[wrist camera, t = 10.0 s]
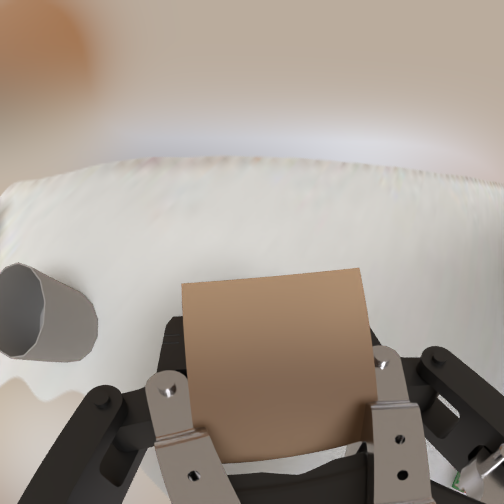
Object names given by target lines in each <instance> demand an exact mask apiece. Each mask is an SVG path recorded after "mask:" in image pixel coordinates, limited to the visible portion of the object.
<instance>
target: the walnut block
mask: <svg viewBox="0 0 504 504" xmlns="http://www.w3.org/2000/svg"><path fill="white" fill-rule="evenodd" d="M181 285H182V308H183V326H184V341H185V355H186V367H187V377H188V388H189V397H190V406H191V414H192V422H193V428H198V427H205V428H206V429H207V431H208V434H209V436H210V438H211V441H212V443H213V445H214V448H215V450H216V452H217V455H218V457H219V459H220V461H221V463H222V464H226V463H241V462H253V461H263V460H271V459H279V458H286V457H292V456H298V455H304V454H309V453H314V452H319V451H324V450H328V449H333V448H337V447H341V446H345V445H349V444H353V443H356V442H360V438H361V432H362V426H363V420H364V413H365V406H366V403H368V402H373V401H378V395H377V384H376V374H375V364H374V356H373V348H372V340H371V333H370V326H369V319H368V313H367V307H366V301H365V295H364V290H363V284H362V279H361V274H360V269H359V268H352V269H343V270H334V271H324V272H314V273H304V274H293V275H283V276H272V277H260V278H249V279H237V280H224V281H212V282H198V283H184V284H181Z"/></svg>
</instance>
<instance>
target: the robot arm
mask: <svg viewBox="0 0 504 504" xmlns="http://www.w3.org/2000/svg"><path fill="white" fill-rule="evenodd" d="M370 333H371V340H372V348H373V356H374V364H375V374H376V384H377V395H378V401H373V402H368V403H366V406H365V413H364V420H363V426H362V432H361V438H360V442H356V443H353V444H349V445H347V447H346V452H345V456H344V457H343V458H339V459H335V460H332V461H330V462H328V463H326V464H324V465H322V466H320V467H317V468H315V469H313V470H311V471H308V472H306V473H304V474H300V475H289V474H274V473H263V472H261V473H251V474H238V475H227V474H226V472H225V470H224V468H223V466H222V463H221V461H220V459H219V457H218V455H217V452H216V450H215V448H214V445H213V443H212V441H211V438H210V436H209V434H208V431H207V429H206V428H205V427H198V428H193V422H192V414H191V406H190V397H189V388H188V377H187V367H186V355H185V341H184V326H183V316H178V317H172V319H171V320H170V321H169V322H168V324H167V325H166V328H165V333H164V338H163V344H162V348H161V353H160V358H159V363H158V368H157V373H156V374H154V375H153V376H152V377H151V378H150V379H149V380H148V381H147V383H146V386H145V387H144V388H142V389H139V390H135V391H131V392H127V393H123V394H121V392H120V391H119V390H118V389H117V388H116V387H113V386H110V385H101V386H98V387H95V388H93V389H92V390H90V391H89V392H88V393H87V395H86V396H85V398H84V399H83V400H82V402H81V403H80V405H79V406H78V408H77V409H76V411H75V412H74V414H73V415H72V417H71V418H70V420H69V421H68V423H67V424H66V426H65V427H64V429H63V430H62V432H61V433H60V435H59V436H58V438H57V439H56V441H55V443H54V444H53V446H52V447H51V449H50V450H49V452H48V454H47V455H46V457H45V458H44V460H43V461H42V463H41V465H40V466H39V468H38V470H37V471H36V473H35V474H34V476H33V478H32V479H31V481H30V483H29V485H28V486H27V488H26V490H25V491H24V493H23V495H22V497H21V498H20V500H19V502H18V504H122V502H123V499H124V497H125V495H126V493H127V491H128V489H129V487H130V484H131V482H132V480H133V478H134V476H135V474H136V472H137V470H138V468H139V465H140V463H141V461H142V459H143V457H144V455H145V453H146V451H147V448H149V447H153V446H155V451H156V455H157V458H158V462H159V465H160V469H161V472H162V476H163V479H164V482H165V485H166V488H167V491H168V494H169V497H170V500H171V503H172V504H504V396H503V395H502V394H501V393H499V392H498V391H497V390H496V389H495V388H494V387H492V386H491V385H490V384H489V383H488V382H486V381H485V380H484V379H483V378H482V377H480V376H479V375H478V374H477V373H476V372H474V371H473V370H472V369H471V368H469V367H468V366H467V365H466V364H465V363H463V362H462V361H461V360H460V359H458V358H457V357H456V356H455V355H453V354H452V353H451V352H450V351H448V350H447V349H445V348H442V347H438V346H432V347H428V348H426V349H425V350H424V351H423V353H422V355H421V358H404V357H400V356H399V354H398V353H397V352H396V351H395V350H393V349H392V348H389V347H387V346H382V345H381V344H380V342H379V341H378V339H377V337H376V336H375V334H374V333H373V331H372V330H371V328H370ZM439 394H440V395H441V396H442V397H443V398H445V399H446V400H447V401H448V402H449V403H450V404H451V405H452V406H453V407H454V408H455V409H456V410H457V411H458V412H459V414H460V418H458V417H457V416H456V415H455V414H454V413H453V412H452V411H451V410H450V409H449V408H447V407H446V406H445V405H444V404H443V403H442V402H441V401H440V400H439V399H438V398H437V397H438V396H439ZM425 438H426V439H427V440H428V441H429V442H430V443H431V444H432V445H433V446H434V447H435V448H436V449H437V450H438V451H439V452H440V453H441V454H442V455H443V456H444V457H445V458H446V459H447V460H448V461H449V462H450V464H451V465H452V466H453V467H454V468H455V469H456V470H457V471H458V472H459V473H460V481H459V484H458V487H459V489H460V490H461V491H466V494H467V496H466V495H463V494H461V493H459V492H456V491H454V490H452V489H450V488H447V487H445V486H443V485H441V484H439V483H436V482H434V481H432V480H430V474H429V465H428V457H427V449H426V442H425Z"/></svg>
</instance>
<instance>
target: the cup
mask: <svg viewBox="0 0 504 504" xmlns="http://www.w3.org/2000/svg"><path fill="white" fill-rule="evenodd" d="M97 336H98V318H97V315H96V312H95V310H94V307H93V304H92V303H91V302H90V301H89V300H88V299H87V298H86V296H85V295H84V294H83V293H81V292H79V291H77V290H75V289H73V288H71V287H69V286H67V285H65V284H63V283H61V282H59V281H57V280H55V279H53V278H51V277H49V276H47V275H45V274H43V273H41V272H40V271H38V270H36V269H34V268H32V267H30V266H27V265H24V264H21V263H19V262H18V263H15V264H12V265H10V266H7V267H5V268H4V269H3V270H2V271H1V272H0V352H1V353H3V354H4V355H6V356H7V357H9V358H12V359H22V360H34V361H49V362H74V361H80V360H82V359H83V358H84V357H85V356H86V355H87V354H89V353H90V352H91V351H92V348H93V346H94V343H95V341H96V339H97Z"/></svg>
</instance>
